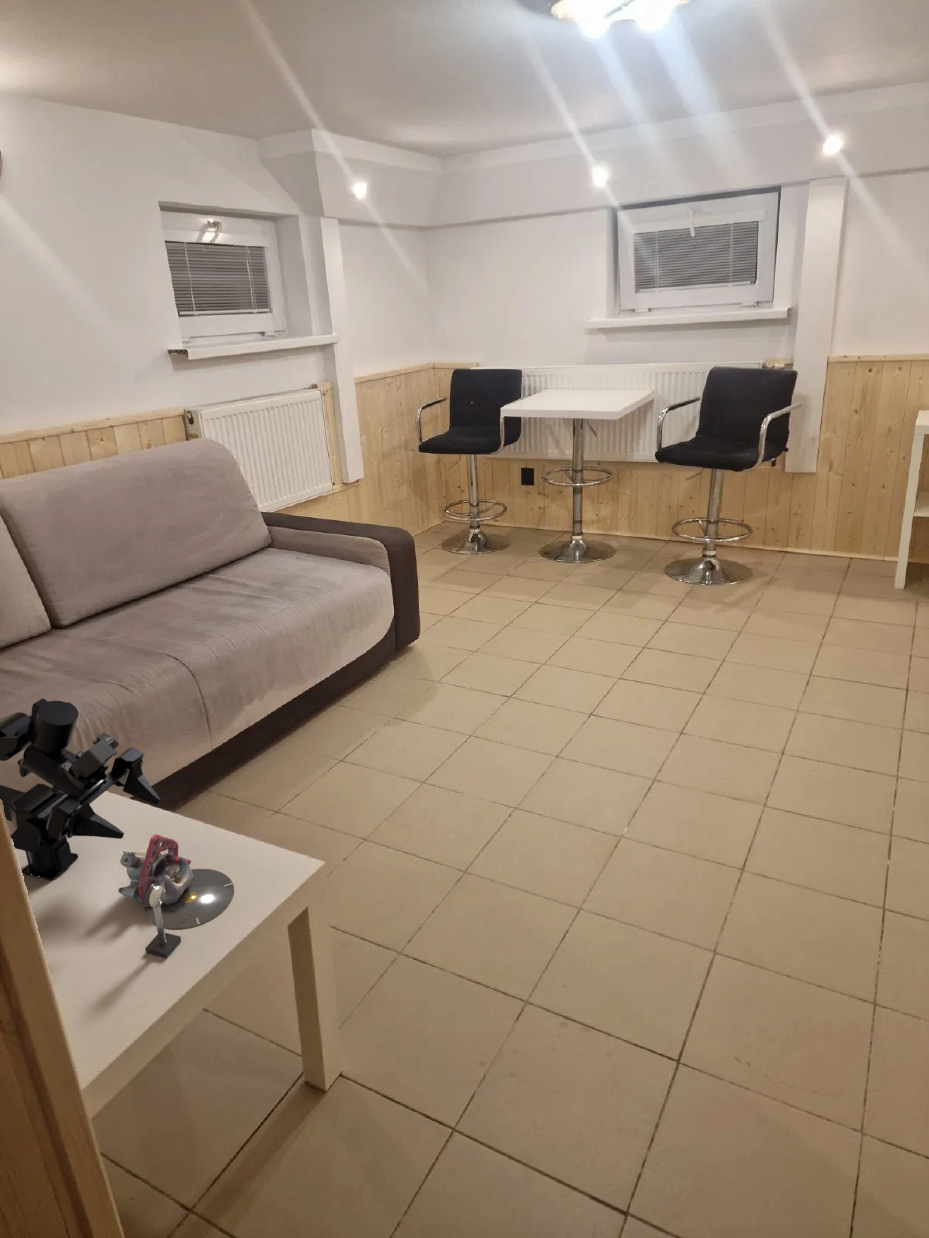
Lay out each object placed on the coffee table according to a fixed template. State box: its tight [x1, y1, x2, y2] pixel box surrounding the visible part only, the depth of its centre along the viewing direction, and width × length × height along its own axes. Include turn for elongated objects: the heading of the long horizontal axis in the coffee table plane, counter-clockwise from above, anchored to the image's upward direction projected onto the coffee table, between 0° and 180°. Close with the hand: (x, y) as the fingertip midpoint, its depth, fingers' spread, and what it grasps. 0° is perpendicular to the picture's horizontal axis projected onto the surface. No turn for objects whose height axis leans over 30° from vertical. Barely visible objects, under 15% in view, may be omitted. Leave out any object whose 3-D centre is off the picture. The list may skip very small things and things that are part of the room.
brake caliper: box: [117, 834, 193, 905], centre depth 134 cm, size 11×11×12 cm
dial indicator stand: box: [142, 883, 182, 960], centre depth 122 cm, size 4×4×12 cm
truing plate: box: [143, 868, 235, 930], centre depth 134 cm, size 14×14×1 cm
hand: (141, 818), depth 130 cm, fingers open, 9 cm apart
